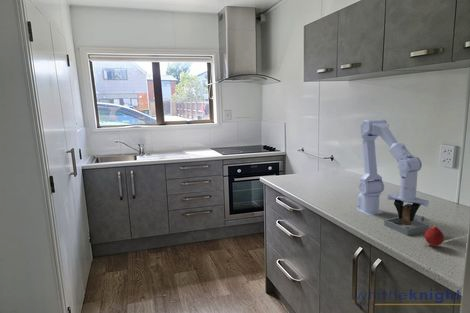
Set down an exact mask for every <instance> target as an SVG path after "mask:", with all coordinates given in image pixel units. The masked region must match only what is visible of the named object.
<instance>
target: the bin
mask: <svg viewBox="0 0 470 313" xmlns="http://www.w3.org/2000/svg"><path fill="white" fill-rule="evenodd" d="M400 223H401V219H399V217H398V216H397V217H393V218H392V217H391V218H387V219H384V222H383V226H385V227H387V228H389V229H392V230H393V231H395V232H398V233H400V234H403V235H405V236H406V237H407V236H412V235H416V234H420V233H425V232H426V231H427V230H428V229H429V226H430V225H429V224H427V223H425V222H420V221H417V220H415V219H414V220H413V221H411V225H410V226H413V227H410V228H406V227H404V226H401V225H400Z"/></svg>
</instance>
